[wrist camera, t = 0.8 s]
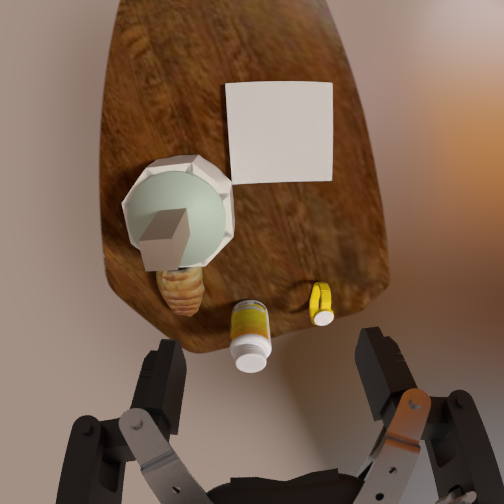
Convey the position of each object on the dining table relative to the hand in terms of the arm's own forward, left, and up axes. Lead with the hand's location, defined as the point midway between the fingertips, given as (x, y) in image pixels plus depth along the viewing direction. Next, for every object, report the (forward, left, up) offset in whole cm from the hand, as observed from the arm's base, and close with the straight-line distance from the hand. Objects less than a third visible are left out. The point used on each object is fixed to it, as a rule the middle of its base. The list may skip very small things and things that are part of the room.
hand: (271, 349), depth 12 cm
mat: (-6, +3, -26) cm, 27 cm away
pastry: (+14, -11, -26) cm, 31 cm away
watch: (+17, +8, -26) cm, 32 cm away
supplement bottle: (+20, -2, -26) cm, 33 cm away
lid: (+2, -9, -20) cm, 22 cm away
